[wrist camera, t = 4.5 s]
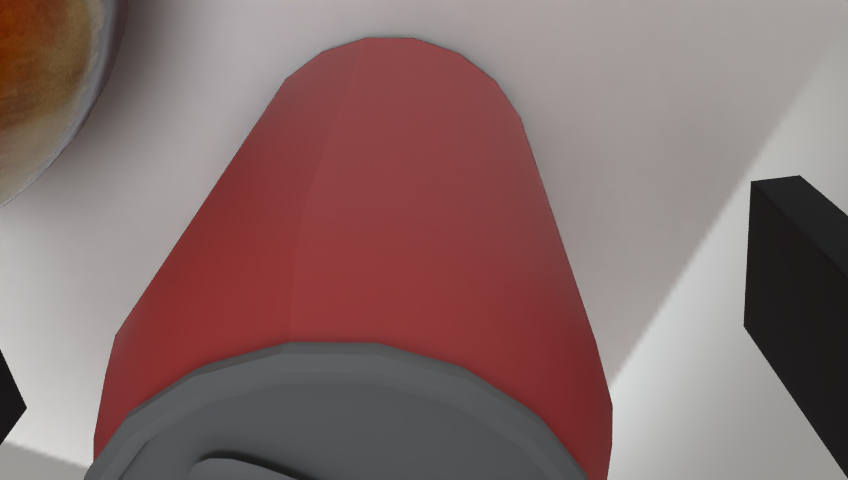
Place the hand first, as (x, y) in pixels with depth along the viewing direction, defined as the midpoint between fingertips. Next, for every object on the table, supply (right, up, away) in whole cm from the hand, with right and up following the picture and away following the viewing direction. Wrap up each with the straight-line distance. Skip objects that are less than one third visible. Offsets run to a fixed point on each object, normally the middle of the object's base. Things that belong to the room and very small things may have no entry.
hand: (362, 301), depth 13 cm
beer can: (0, +3, +6) cm, 7 cm away
